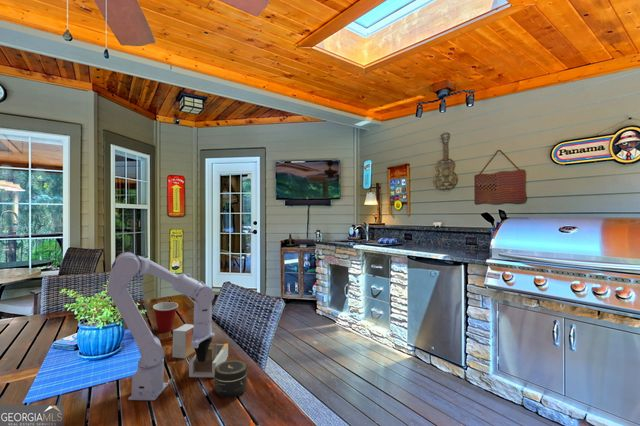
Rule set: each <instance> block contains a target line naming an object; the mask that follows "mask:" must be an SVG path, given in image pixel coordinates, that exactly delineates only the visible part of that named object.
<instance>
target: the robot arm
mask: <svg viewBox="0 0 640 426" xmlns="http://www.w3.org/2000/svg"><path fill="white" fill-rule="evenodd" d="M137 273H138V274H139V275H140V276H142V275H148V274H149V275H152V276H154V277H156V278H158V279H161V280H162V281H165V282H168V283H170V284H171V285H172V289H173V290H174V291H175V292H177V293H180V294H183V295H184V296H186V297H188V298H190V299H191V298H193V299H194V302H193V304H194V307H193V325H194V328H193V340H192V342H191V348H194V349H195V355H197V359H198V362H204V361H205V360H206V356H207V352H208V348H209V345H210V343H212V341H213V337H215V336H216V334H215V332H213V325H212V322H213V321H212V319H213V318H212V316H213V314H212V313H213V308H212V307H213V306H212V305H213V303H212V302H213V300H214V299H215V296H216V295H215V294H214V291H213V289H212V288H211V287H210V286H209V285H207V284H206V283H204V281H202V280H200V281H198V280H197V279H195V278H193V277H192V275H191V274H190V273H186V274H185V273H180V274H177V273H174V272H173V271H171V270H169V269H167V268H165V267H163V266H162V265H160V264H158V263H156V262H154V261H153V260H151V259H149V258H146V257H144V256H140V255H136V254H135V253H133V252H130V251H127V252H126V251H124V252H122V253H120V254H118V255H117V256H116V258H115V259H114V261H113V262H112V264H111V268H110V272H109V277H108V282H107V293H108V295H109V296H110V298H111V301H112V302H113V303H114V306H115V307H116V309H117V311H118V312H119V314H120V316H121V318H122V319H123V321H124V323H125V325H126V326H127V328H128V330H129V332H130V333H131V336H132V337H133V339H134V340H135V343H136V345H137V348H138V351H139V354H140V358H139V360H138V362H137V368H136V372H135V373H134V374H133V376H132V378H131V395H130V396H129V397H128V399H127V400H128V401H156V399H158V398H159V396H160V395H161V394H162V393H163V392H164V390H165V389H166V388H167V387H168V385H169V382H164V373H165V372H164V367H165V358H164V357H165V350H164V348H163V346H162V343H161V340H160V338H158V337H157V336H155V335H154V334H153V333H152V331H151V329H150V328H149V326H148V324H147V322H146V321H145V319H144V316H143V315H142V313H141V311H140V310H139V308H138V306H137V304H136V302H135V300H134V298H133V297H132V295H131V293H130V291H129V289H128V286H129V284H130V283H131V280H132V279H133V278H134V277H135V276H136V275H137Z"/></svg>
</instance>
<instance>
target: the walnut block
mask: <svg viewBox="0 0 640 426" xmlns="http://www.w3.org/2000/svg"><path fill="white" fill-rule="evenodd" d="M217 344H218V343H214V342H213V343H212V342H211V343H210V345H209V348H208V352H207V356H206V360H205V361H204V362H198V359H197V355H196V354H195V355H196V371H199V372H212V362H213V361H214V359H215V358H216V354H217Z"/></svg>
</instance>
